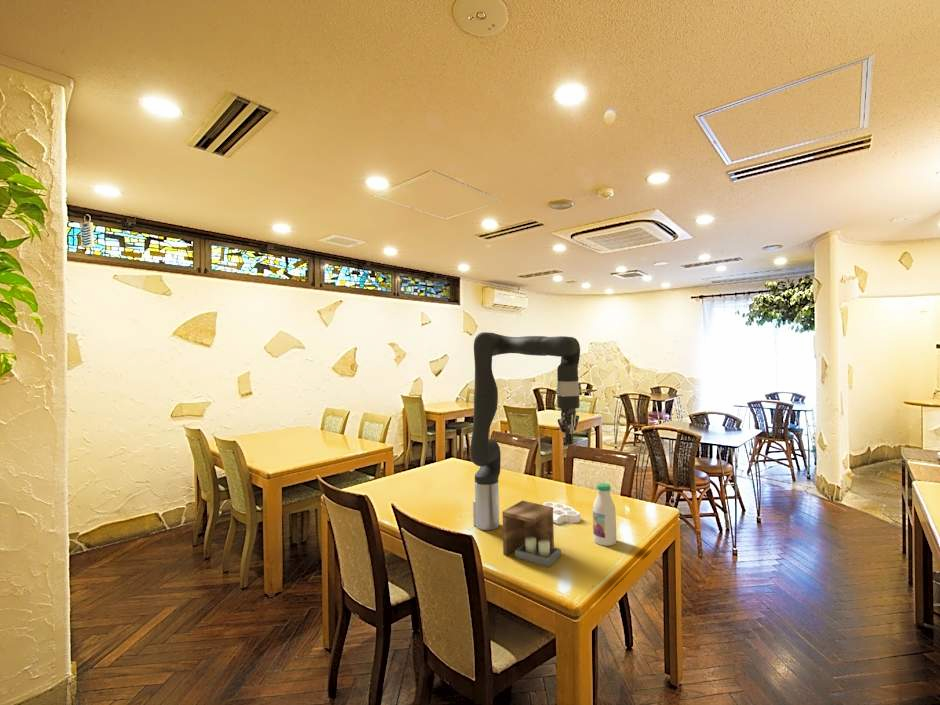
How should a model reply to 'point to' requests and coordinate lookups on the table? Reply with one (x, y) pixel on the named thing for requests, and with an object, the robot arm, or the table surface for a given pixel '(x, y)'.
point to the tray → (536, 559)
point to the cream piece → (544, 548)
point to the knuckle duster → (563, 513)
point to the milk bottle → (604, 517)
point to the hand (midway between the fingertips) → (569, 444)
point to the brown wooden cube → (526, 524)
